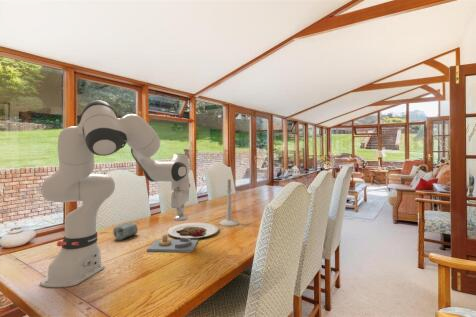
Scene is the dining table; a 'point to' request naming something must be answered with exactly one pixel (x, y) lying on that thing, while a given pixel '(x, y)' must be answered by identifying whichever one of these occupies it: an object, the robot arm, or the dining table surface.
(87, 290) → the dining table surface
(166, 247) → the carrier
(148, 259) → the dining table surface
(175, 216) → the silver rounded piece
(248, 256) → the dining table surface
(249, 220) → the dining table surface
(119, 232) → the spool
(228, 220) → the grey rod on disc
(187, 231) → the plated food
